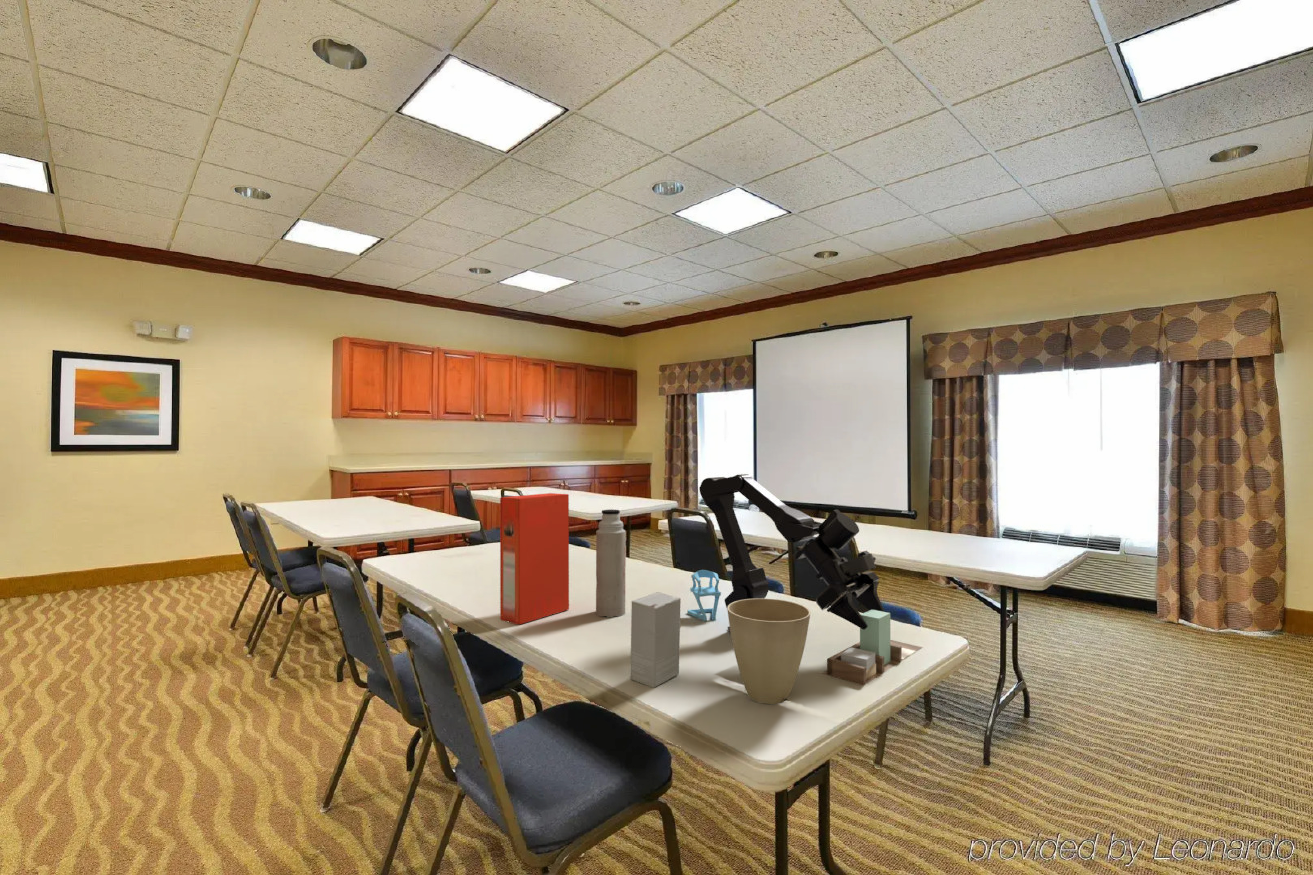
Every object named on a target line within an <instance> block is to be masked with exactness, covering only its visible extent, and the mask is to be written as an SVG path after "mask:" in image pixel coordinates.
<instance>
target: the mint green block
mask: <svg viewBox="0 0 1313 875" xmlns="http://www.w3.org/2000/svg"><path fill="white" fill-rule="evenodd" d="M860 615H861V616H862V618H863V619H864V621H865V622H866V624H867V626H868V627H867V628H866V629H864V630H863V629H861V628H860V627H859V642H860V649H861V650H866V651H870V652H875V654H876V655H880V656H883V657H884V665H886V664H887V663H889V662H890V640H891V613H890V612H886V611H885V612H882V611H877V610H868V611H865V612H863V613H861V614H860Z"/></svg>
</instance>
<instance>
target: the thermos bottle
mask: <svg viewBox="0 0 1313 875" xmlns="http://www.w3.org/2000/svg"><path fill="white" fill-rule="evenodd" d="M620 512H621V510H619V509H602V510H601V514H602V517H601V521H599V522H598V527H597V528H598V529H597V530H596V531H595V534H596V536H595V538H596V539H595V540H596V541H595V544H596V546H595V548H596V549H595V552H596V554H595V557H596V558H595V560H596V561H595V564H596V565H595V566H596V567H595V578H596V588H595V589H596V590H595V614H596V615H597V616H599V617H602V616H607V617H606V618H614V617H613V616H617V617H621V616H624V615H625V614H626V566H627V564H626V551H627V550H626V545H627V543H626V537H627V536H626V534H627V533H626V530H625V529H624V522H623V521H622V520H621V515H620Z"/></svg>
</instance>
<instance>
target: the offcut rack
mask: <svg viewBox="0 0 1313 875" xmlns="http://www.w3.org/2000/svg"><path fill="white" fill-rule="evenodd" d="M850 647H852V648H856V649H860V641H859V642H857V643H855V644H853V645H851V646H848V647H847V648H845V649H843V650H841V651H840V652H837V653H836V654H834V655H832V656H830V657H828V658H827V659H826V670H825V671H823V672H822V673H821V674H823V675H826V676H830V677H833V678H836V679H839V680H844V681H847V682H849V683H853V684H857V685H861V686H864V685H866V684H867V683H869V682H871V681H872V680H874V679H876V678H877V677H879V676H880V675H882V674H883V673H886V672H887V671H889V670H890V669H892V668H893V667H895V666H896V665H897V664H899V663H901V662H902V661H904V660H906V659H908V657H910V656H912V655H913V654H915V653H916V652H918V651H920V650H921V649H924V648H923V646H919V645H915V644H909V643H906V642H902V641H897V640H894V639H890V662H889V663H887V664H886V665H884V657H883V656H880V655H876V654H875V663H876V674H875V675H873V676H872V677H870V678H868V679H867V680H866V667H863V666H859V665H856V664H852V663H848V662H845V661H841V654H842V653H843V652H844V651H846V650H847V649H849V648H850Z"/></svg>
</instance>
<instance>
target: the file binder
mask: <svg viewBox="0 0 1313 875" xmlns="http://www.w3.org/2000/svg"><path fill="white" fill-rule="evenodd" d="M569 497H570V496H569V493H553V492H552V493H551V492H549V493H538V494H527V495H526V494H525V495H515V496H503V497H500V498H499V504H500V506H499V507H500V510H499V511H500V512H499V516H500V517H499V519H500V520H499V521H500V522H499V523H500V524H499V525H500V527H499V530H500V531H499V532H500V533H499V536H500V538H499V540H500V541H499V542H500V543H499V544H500V548H499V549H500V550H499V552H500V556H499V557H500V558H499V562H500V563H499V566H500V568H499V574H500V579H499V580H500V584H499V586H500V587H499V588H500V589H499V596H500V599H499V600H500V602H499V604H500V607H499V609H500V614H499V615H500V616H499V617H500V621H503V622H506V621H509V622H508V623H510V622H511V624H514V625H523V624H525V623H529V622H533V621H536V620H539V619H542V617H543V618H544V617H545V616H546V617H549V616H552V614H553V615H555V613H556V614H558V613H561V612H566V611H569V610H570V588H569V587H570V575H569V574H570V551H569V550H570V539H569V538H570V537H569V536H570V533H569V530H570V529H569V527H570V524H569V523H570V519H569V518H570V515H569V514H570V507H569V504H570V503H569V500H570V499H569ZM565 610H566V611H565Z"/></svg>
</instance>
